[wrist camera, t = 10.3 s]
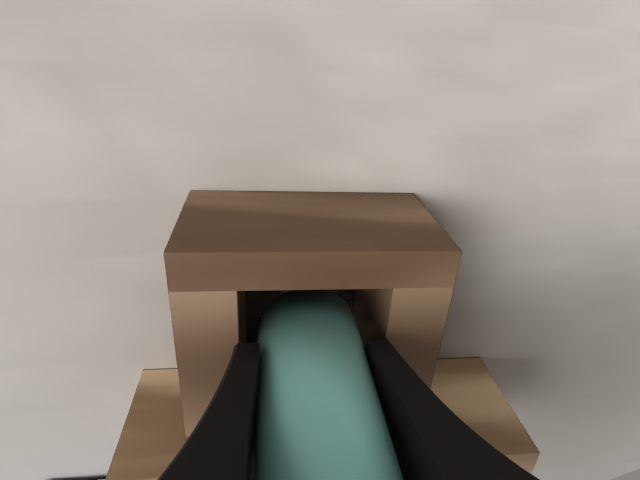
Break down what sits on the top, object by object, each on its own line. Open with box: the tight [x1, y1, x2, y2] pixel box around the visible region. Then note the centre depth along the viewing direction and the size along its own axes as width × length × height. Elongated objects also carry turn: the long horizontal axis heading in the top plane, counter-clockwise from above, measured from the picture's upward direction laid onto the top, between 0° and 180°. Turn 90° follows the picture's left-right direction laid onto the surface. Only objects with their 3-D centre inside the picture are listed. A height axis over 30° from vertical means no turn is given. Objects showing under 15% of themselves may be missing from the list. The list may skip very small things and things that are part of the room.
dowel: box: [255, 290, 403, 480], centre depth 11 cm, size 3×3×7 cm
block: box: [164, 191, 462, 441], centre depth 15 cm, size 8×8×4 cm
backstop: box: [105, 358, 540, 480], centre depth 18 cm, size 2×15×5 cm, turn 87°
